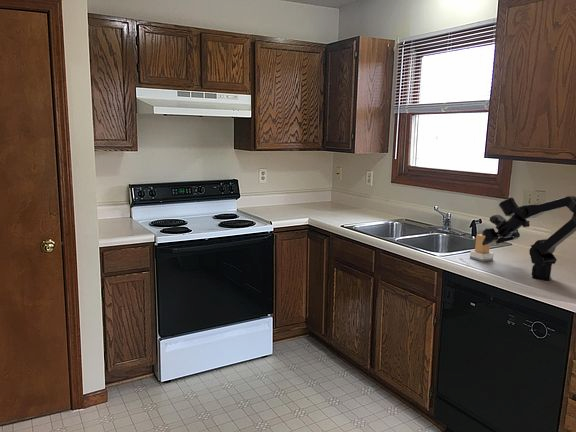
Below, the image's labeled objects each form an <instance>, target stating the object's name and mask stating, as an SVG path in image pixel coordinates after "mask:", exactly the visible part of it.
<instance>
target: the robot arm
mask: <svg viewBox="0 0 576 432" xmlns="http://www.w3.org/2000/svg"><path fill="white" fill-rule="evenodd" d="M498 206H499V208H500V209H501V212H503V214H504V215H505V217H509V218H508V219H506V218H505V217H503V216H502V215H500V214H493V215H492V216H490V217H489V222H491V224H494V225H495V229H494V228H493V227H487V228H486V227H485V229H483V230H482V231H483V232H484V234H485V239H484V241H483V243H482V245H487V244H490V245H491V244H493V243H496V245H499V244H502V243H506V242H511V241H515V240H518V239H519V238H521V234H520V232H519V229H520V228H521V227H523V228H530V222H531V221H530V220H527V219H535V218H537V217H540V216H542V215H543V214H544V213H548V212H552V211H555V210H560V209H563V208H568V210H569V211H570V212H571V213H572V217H571V218H570V219H569V220H568V221H567V222H566V223H565V224H564V225H562V226H561V227H560V228H558V229H557V230H556V231H555V232H554V233H552V234H551V236H549V237H548V238H544V239H537V240H536V241H535V243H534V244H533V243H532V244H531V245H530V248H529V251H528V252H529V253H528V254H529V255H530V256H529V257H530V260H531V264H533V265H532V268H531V278H532V279H535V280H536V279H537V280H542V281H543V280H544V281H549V282H550V280H551V278H552V276H551V274H552V266H553V264H554V265H555V264H556V262H557V260H558V259H557V258H556V256H555V255H554V253H555V250H556V248H557V247H558V246H559V245H561V243H563V242H564V241H565V240H567V239H568V238H569V237H570V236H572V235H573V234H574V233H575V232H576V195H566V196H564V197H559V198H556V199H554V200H553V199H552V200H549V201H546V202H541V203H538V204H537V203H536V204H526V205H524V204H523V205H521V206H519V204H517V203H516V201H515V199H514V198H513V197H509V198H507V199H504V200H503V201H501V202H499V204H498ZM496 230H497V231H496Z"/></svg>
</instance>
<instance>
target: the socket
mask: <svg viewBox="0 0 576 432" xmlns="http://www.w3.org/2000/svg"><path fill="white" fill-rule="evenodd" d="M469 259H473V260H476V261H478V262H483V263H484V262H490V261H493V260H494V252H492V251H489V253H487V254H481V253H478V252H475V249H474V250H473V249H472V250H470V253H469Z"/></svg>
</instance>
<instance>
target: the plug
mask: <svg viewBox="0 0 576 432" xmlns="http://www.w3.org/2000/svg"><path fill="white" fill-rule="evenodd" d="M483 231H484V230H482V232H481V233H480V234H476V235H475V236H476V239H475V246H474V247H475V248H474V250H475V252H478V253H481V254H487V253H489V252H490V245H491V243H490V244H487V245H482V243H483V241H484V239H485V234H484V232H483Z"/></svg>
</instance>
